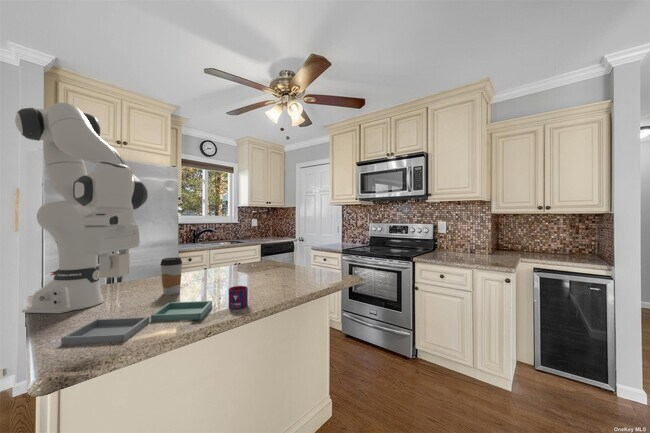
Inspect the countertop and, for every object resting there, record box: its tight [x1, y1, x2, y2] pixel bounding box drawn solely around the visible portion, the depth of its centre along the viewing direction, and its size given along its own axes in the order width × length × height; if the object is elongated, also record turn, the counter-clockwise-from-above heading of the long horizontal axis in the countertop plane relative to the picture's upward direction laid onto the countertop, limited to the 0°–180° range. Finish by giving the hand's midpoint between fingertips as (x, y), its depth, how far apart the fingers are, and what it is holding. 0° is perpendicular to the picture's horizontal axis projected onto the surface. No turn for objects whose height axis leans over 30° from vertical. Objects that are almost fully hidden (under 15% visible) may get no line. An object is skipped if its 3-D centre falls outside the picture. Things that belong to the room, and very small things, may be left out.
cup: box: [228, 285, 249, 310], centre depth 104 cm, size 7×10×7 cm
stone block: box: [98, 252, 130, 279], centre depth 79 cm, size 5×5×6 cm
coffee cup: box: [160, 256, 183, 296], centre depth 120 cm, size 8×8×15 cm
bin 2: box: [150, 300, 213, 322], centre depth 94 cm, size 15×13×2 cm
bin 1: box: [60, 316, 150, 346], centre depth 78 cm, size 15×13×2 cm
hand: (114, 266), depth 79 cm, fingers closed on stone block, 5 cm apart
